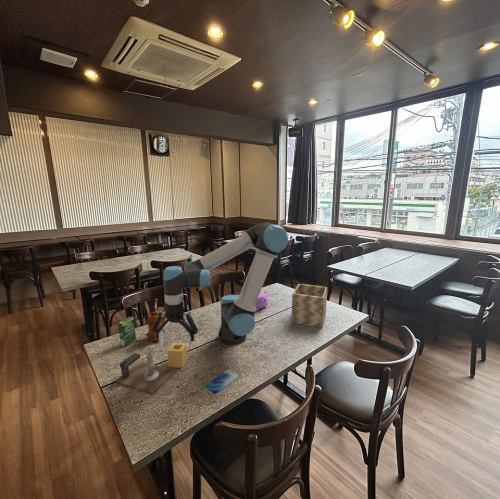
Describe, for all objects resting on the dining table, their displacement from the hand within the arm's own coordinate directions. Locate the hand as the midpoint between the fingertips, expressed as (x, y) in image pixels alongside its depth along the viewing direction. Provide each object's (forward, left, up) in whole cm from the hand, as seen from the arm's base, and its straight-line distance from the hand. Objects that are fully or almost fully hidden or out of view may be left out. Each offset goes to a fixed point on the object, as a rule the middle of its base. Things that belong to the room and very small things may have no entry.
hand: (176, 346), depth 122 cm
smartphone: (-25, +4, -9) cm, 27 cm away
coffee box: (+34, -5, -9) cm, 35 cm away
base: (+7, +13, -8) cm, 17 cm away
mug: (+24, -16, -9) cm, 30 cm away
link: (+1, -5, -8) cm, 10 cm away
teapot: (-14, -70, -9) cm, 72 cm away
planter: (-49, -66, -8) cm, 83 cm away
